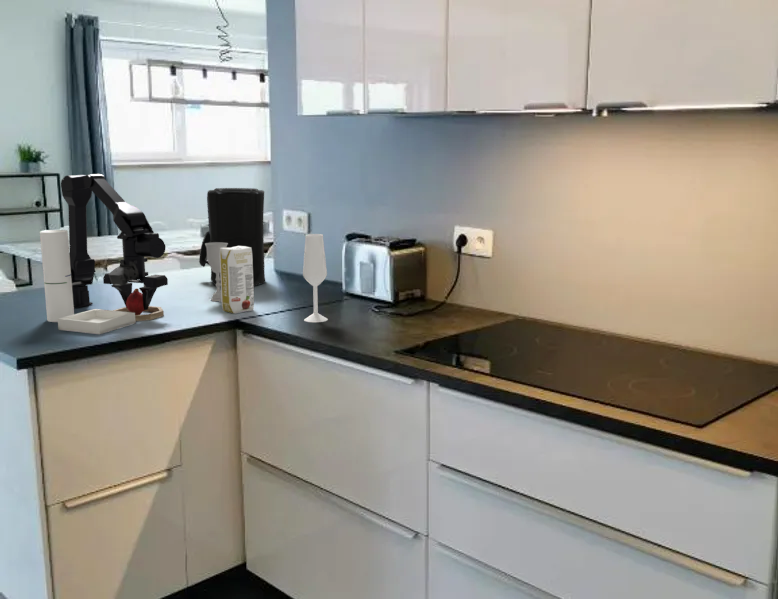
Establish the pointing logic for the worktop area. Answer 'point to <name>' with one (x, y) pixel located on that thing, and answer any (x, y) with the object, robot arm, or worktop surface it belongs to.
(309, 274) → the champagne flute
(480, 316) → the worktop surface
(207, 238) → the coffee maker
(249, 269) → the juice carton
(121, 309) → the ring collar
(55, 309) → the cylindrical container
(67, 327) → the tray
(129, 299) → the onion
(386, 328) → the worktop surface
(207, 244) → the chalice
